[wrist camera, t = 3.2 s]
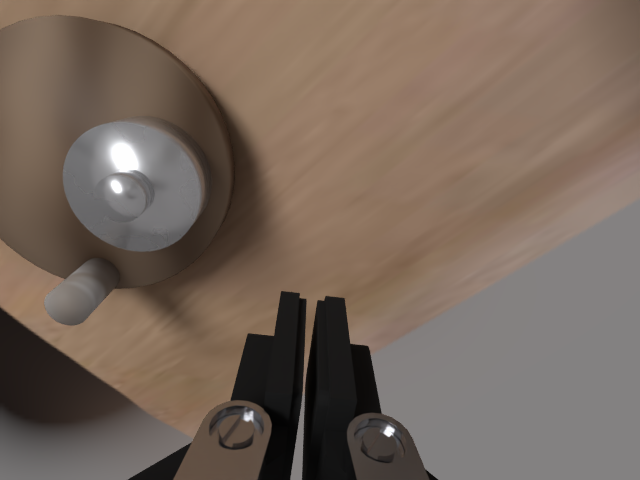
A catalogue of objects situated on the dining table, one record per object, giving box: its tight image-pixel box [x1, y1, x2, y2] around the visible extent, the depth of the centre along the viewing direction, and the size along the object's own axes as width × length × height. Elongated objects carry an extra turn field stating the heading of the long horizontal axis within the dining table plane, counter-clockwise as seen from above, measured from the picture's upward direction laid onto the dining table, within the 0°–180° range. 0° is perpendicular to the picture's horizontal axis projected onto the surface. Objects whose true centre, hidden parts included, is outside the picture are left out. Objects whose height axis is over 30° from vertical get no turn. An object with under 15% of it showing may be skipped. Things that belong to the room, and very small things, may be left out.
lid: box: [63, 116, 212, 252], centre depth 22 cm, size 7×7×4 cm
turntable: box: [0, 15, 235, 325], centre depth 23 cm, size 16×16×6 cm
